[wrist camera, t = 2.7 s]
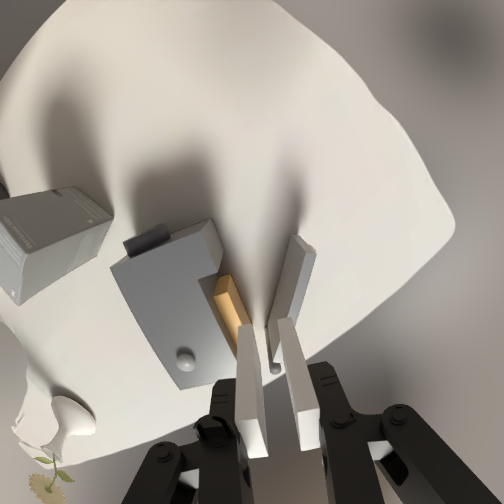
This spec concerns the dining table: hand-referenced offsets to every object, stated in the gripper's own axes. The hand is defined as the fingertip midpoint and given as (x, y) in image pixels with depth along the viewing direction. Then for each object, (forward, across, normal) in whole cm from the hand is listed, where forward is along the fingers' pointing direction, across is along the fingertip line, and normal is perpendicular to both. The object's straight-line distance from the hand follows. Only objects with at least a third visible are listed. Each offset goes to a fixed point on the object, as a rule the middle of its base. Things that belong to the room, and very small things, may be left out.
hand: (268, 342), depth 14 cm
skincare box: (+19, -22, +8) cm, 30 cm away
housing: (+18, -7, -3) cm, 20 cm away
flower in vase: (+19, -43, -28) cm, 54 cm away
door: (+18, +3, -4) cm, 19 cm away
